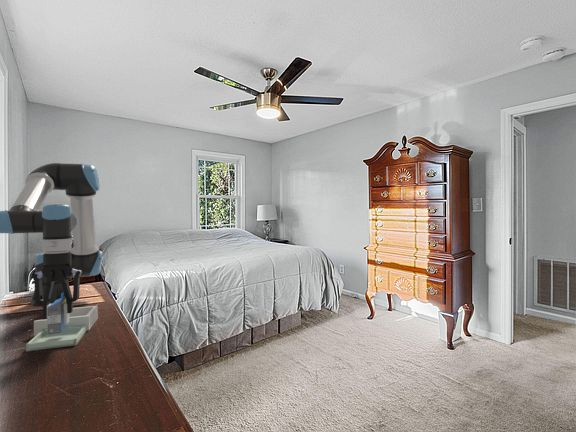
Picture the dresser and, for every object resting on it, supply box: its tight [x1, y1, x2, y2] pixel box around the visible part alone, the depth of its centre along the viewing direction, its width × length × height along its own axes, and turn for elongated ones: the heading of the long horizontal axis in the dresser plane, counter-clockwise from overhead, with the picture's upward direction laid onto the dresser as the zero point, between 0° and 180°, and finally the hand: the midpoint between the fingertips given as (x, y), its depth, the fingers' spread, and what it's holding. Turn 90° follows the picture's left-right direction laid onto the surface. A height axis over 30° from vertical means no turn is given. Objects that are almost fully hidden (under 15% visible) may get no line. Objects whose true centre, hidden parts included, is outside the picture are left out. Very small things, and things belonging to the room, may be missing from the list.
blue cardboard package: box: [48, 292, 67, 334], centre depth 106 cm, size 9×4×12 cm, turn 23°
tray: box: [25, 325, 88, 352], centre depth 106 cm, size 13×13×2 cm
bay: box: [33, 305, 99, 337], centre depth 118 cm, size 13×16×5 cm
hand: (58, 323), depth 106 cm, fingers closed on blue cardboard package, 4 cm apart
